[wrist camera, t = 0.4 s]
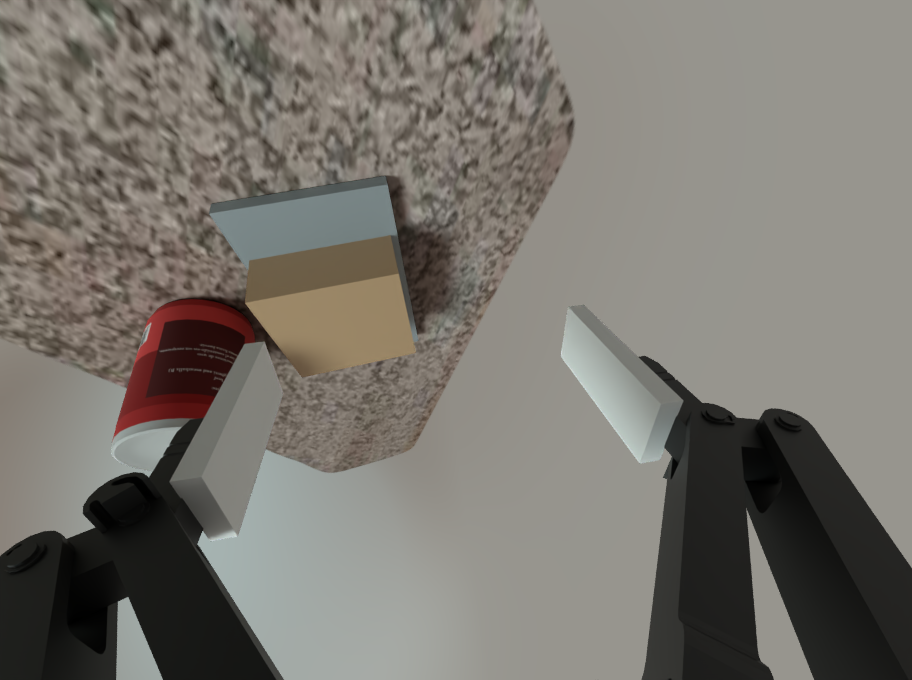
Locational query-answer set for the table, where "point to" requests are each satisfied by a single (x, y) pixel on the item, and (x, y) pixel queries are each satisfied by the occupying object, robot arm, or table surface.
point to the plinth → (310, 221)
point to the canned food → (176, 375)
